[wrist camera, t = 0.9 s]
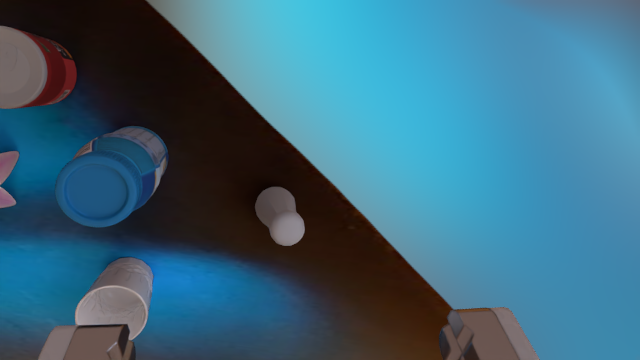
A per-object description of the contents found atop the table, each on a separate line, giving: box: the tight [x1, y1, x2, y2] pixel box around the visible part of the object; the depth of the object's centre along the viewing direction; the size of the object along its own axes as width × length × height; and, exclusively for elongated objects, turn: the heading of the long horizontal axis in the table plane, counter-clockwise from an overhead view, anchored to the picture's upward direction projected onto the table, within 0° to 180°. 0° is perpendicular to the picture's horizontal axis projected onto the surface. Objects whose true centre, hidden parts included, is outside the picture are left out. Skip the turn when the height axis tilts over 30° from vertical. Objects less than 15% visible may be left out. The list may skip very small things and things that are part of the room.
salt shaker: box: [255, 187, 305, 246], centre depth 55 cm, size 6×6×13 cm
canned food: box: [0, 26, 77, 109], centre depth 45 cm, size 8×8×11 cm
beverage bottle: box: [55, 126, 168, 227], centre depth 45 cm, size 8×8×20 cm
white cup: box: [75, 257, 154, 340], centre depth 53 cm, size 8×8×10 cm
